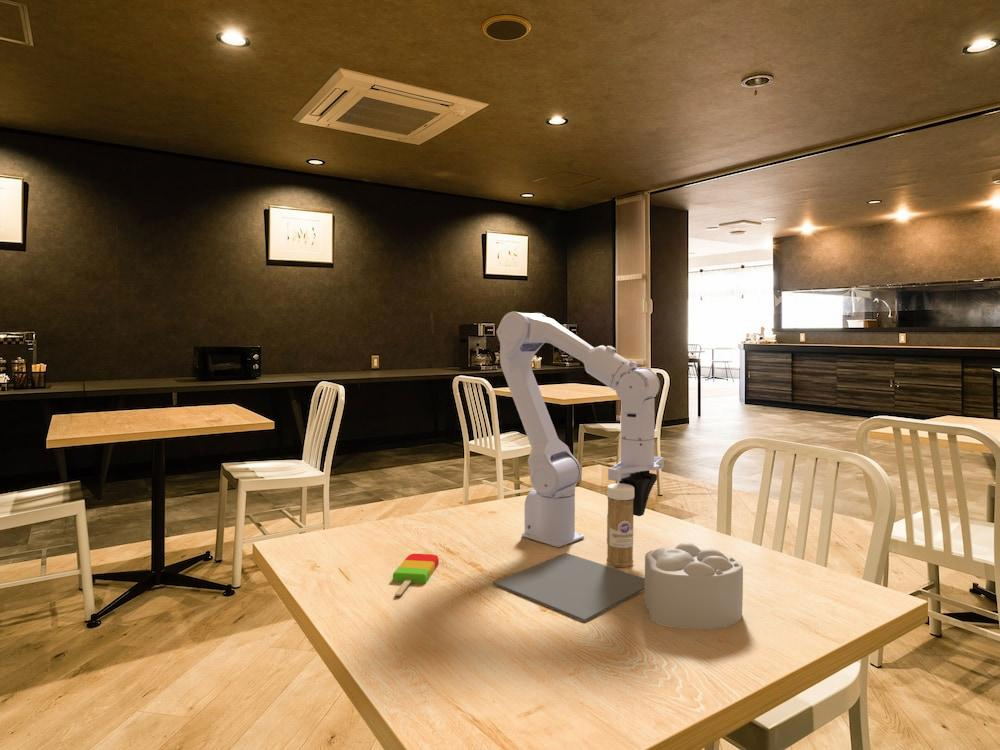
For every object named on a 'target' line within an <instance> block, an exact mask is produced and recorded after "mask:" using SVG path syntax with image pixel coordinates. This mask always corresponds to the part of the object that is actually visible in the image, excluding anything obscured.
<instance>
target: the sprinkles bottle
mask: <svg viewBox="0 0 1000 750" xmlns="http://www.w3.org/2000/svg"><path fill="white" fill-rule="evenodd" d="M606 487H607V488H606V497H607V513H606V514H607V515H606V516H607V517H606V544H607V545H606V546H607V550H606V553H607V554H606V555H607V557H606V562H607V564H608V565H610V566H612V567H616V568H617V567H618V568H628V567H631V566H632V565H633V564H634V560H633V558H634V557H633V555H634V553H633V552H634V547H633V546H634V515H633V500H634V499H633V498H634V487H633V486H632V485H629V484H622V483H619V482H618V483H610V484H608V485H607V486H606Z"/></svg>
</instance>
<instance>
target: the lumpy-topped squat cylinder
mask: <svg viewBox="0 0 1000 750" xmlns="http://www.w3.org/2000/svg"><path fill="white" fill-rule="evenodd" d="M644 578H645V590H644V605H645V606H646V607H647V609H648V617H649V618H650V620H651V621H653V622H654V623H657V624H658V625H661V626H665V627H670V628H679V629H680V628H681V629H691V628H692V629H694V628H695V630H696V629H698V630H715V629H722V628H725V626H726V627H729V626H728V625H730V626H732V624H733V625H735V624H737V623H739V621H740V620H742V618H743V595H744V594H743V593H744V589H743V587H744V586H743V585H744V566H743V564H742V563H741V562H739V561H738V560H736V559H734V558H733V557H729V556H727V555H725V554H724V553H722V552H721V551H720V550H717V549H715V548H704V549H700V548H699V547H698V546H697V545H695V544H694V543H692V542H682V543H679V544H677V545H676V546H675V548H674V547H659V548H657V549H653V550H649V551H648V552H647V553H645V556H644ZM741 617H742V618H741ZM736 622H737V623H736ZM734 623H735V624H734Z"/></svg>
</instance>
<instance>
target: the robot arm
mask: <svg viewBox="0 0 1000 750" xmlns="http://www.w3.org/2000/svg"><path fill="white" fill-rule="evenodd" d="M495 333H496V336H497V339H498V341H499V347H500V349H499V358H500V359H499V360H500V361H499V364H500V367H501V370H502V373H503V375H504V378H505V380H506V383H507V386H508V388H509V391H510V395H511V396H512V399H513V402H514V405H515V407H516V410H517V412H518V415H519V418H520V420H521V423H522V426H523V429H524V431H525V435H526V437H527V440H528V442H529V444H530V447H531V450H530V453H529V456H528V458H527V464H528V466H529V480H530V484H531V486H532V489H531V490H530V491H529V492H528V493H527V494H526V497H525V500H524V532H522V533H521V536H522V537H525V538H527V539H530V540H533V541H537V542H539V543H543V544H547V545H549V546H552V547H556V548H561V547H563V546H566V545H568V544H572V543H574V542H577V541H580V540H582V539H585V535H584V534H582V533H578V532H576V528H575V526H576V525H575V524H576V521H575V520H576V519H575V518H576V517H575V516H576V515H575V514H576V500H575V499H576V497H575V496H576V484H577V483H578V482H579V481H580V479H581V477H582V467H581V464H580V462H579V461H578V460H577V458H576V457H575V456H574V455H573V454H572V452H571V450H570V447H569V446H568V445H567V444H566V443H564V442H563V441H562V440H561V439H560V438H559V436H558V434H557V432H556V428H555V426H554V424H553V421H552V419H551V416H550V414H549V411H548V409H547V405H546V402H545V400H544V398H543V397H544V396H543V395H542V393H541V390H540V387H539V385H538V382H537V380H536V379H537V378H536V377H535V375H534V372H533V368H532V366H531V363H532V361H533V358H534V357H535V354H537V352H538V351H539V350H540V349H541V347H542V346H543V345H544V344H545V343H546V344H550V345H552V346H554V347H555V348H557V349H560V350H561V351H563V352H564V353H567V354H568V355H570V356H572V357H573V358H574V359H577V360H578V361H580V362H581V363H583V365H584V371H585V372H586V373H587V374H589V375H590V376H591V377H593V378H595V379H596V380H598V381H599V382H600V383H602V384H604V385H605V386H606V387H609V388H610V389H612V390H613V391H615V393H616V394H615V395H617V397H618V399H619V400H620V403H621V404H620V406H621V407H620V409H621V410H620V461H619V462H617V463H616V464H615V465H614V466H612V467H609V468H608V469H607V470H608V472H607V475H608V476H607V479H608V480H609V481H615V482H618V483H622V484H629V485H632V486H633V487H634V498H633V499H634V500H633V516H637V517H641V516H644V514H645V511H646V507H647V503H648V499H649V497H650V494H651V491H652V488H653V487H654V485H655V483H656V482H657V480H658V474H656V473H652V472H650V471H653V472H654V471H659V470H661V469H664V467H665V466H664V464H665V463H664V461H665V459H664V457H662V456H655V420H656V419H655V418H656V417H655V416H656V413H655V404H656V403H655V402H656V400H655V399H656V398H655V397H656V396H657V395H658V393H659V391H660V388H661V387H660V386H661V382H660V379H659V377H658V375H657V374H656V373H655V372H654V371H653V370H652V369H651V368H649V367H638V362H637V361H635V360H631V361H630V360H628V359H627V358H624V357H623V356H622V355H620V354H618V353H616V351H617V349H616V348H615V347H613V346H612V345H607V346H605V345H599V346H595V347H594V346H592V345H591V344H589V343H588V342H586V341H585V340H584V339H582V338H580V337H579V336H578V335H576V334H575V333H573V332H572V331H570V330H569V329H567V328H566V327H564V326H563V325H562V324H560V323H559V322H558V321H556V320H555V319H554V318H551V317H547V316H546V315H545V314H543V313H541V312H531V313H530V312H518V311H510V312H507V313H506V314H504V316H503V317H502V319H501V320H500V322H499V324H498V328H497V329H496V332H495Z"/></svg>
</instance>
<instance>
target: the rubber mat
mask: <svg viewBox="0 0 1000 750" xmlns="http://www.w3.org/2000/svg"><path fill="white" fill-rule="evenodd" d="M492 585H494V586H497V587H499V588H501V589H503V590H504V591H508V592H510V593H513V594H515V595H518V596H520V597H523V598H525V599H527V600H530V601H532V602H534V603H537V604H540V605H542V606H544V607H547V608H549V609H552V610H554V611H557V612H559V613H561V614H562V615H563V614H564V615H566V616H569V617H570V618H573V619H576V620H579V621H581V622H582V623H586V622H588V621H590V620H592V619H593V618H596V617H597V616H599V615H601V614H604V613H605V612H607V611H609V610H610V609H612V608H613V607H616V606H617V605H620V604H621V603H623V602H625V601H626V600H629V599H630V598H632V597H634V596H636V595H638V594H640V593H642V592H645V577H643V576H639V575H636V574H633V573H630V572H628V571H624V570H620V569H619V568H618V569H617V568H614V567H613V566H612V567H611V566H607V565H605V564H602V563H599V562H595V561H592V560H590V559H586V558H583V557H580V556H577V555H574V554H572V553H568V552H565V553H561V554H559V555H556V556H554V557H552V558H549V559H547V560H545V561H541V562H539V563H537V564H535V565H532V566H529V567H527V568H525V569H522V570H519V571H516V572H515V573H512V574H510V575H509V574H508V575H506V576H504V577H502V578H499V579H496V580H494V581H492Z"/></svg>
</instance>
